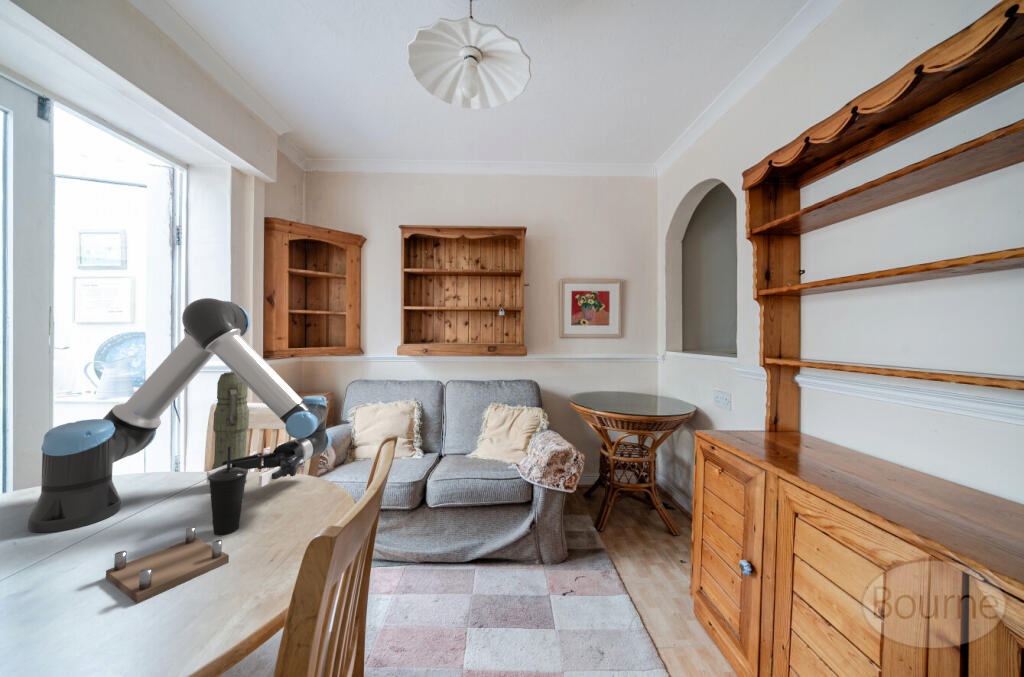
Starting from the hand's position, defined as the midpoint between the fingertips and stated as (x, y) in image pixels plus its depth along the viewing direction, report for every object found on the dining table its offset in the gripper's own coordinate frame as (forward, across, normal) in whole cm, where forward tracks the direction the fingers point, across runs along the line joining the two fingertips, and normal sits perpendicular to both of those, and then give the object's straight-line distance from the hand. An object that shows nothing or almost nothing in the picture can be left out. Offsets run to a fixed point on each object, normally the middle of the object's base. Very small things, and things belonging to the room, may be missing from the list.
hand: (233, 479), depth 91 cm
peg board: (+16, -1, -12) cm, 20 cm away
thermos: (-24, +22, -12) cm, 35 cm away
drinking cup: (+1, 0, -12) cm, 12 cm away
